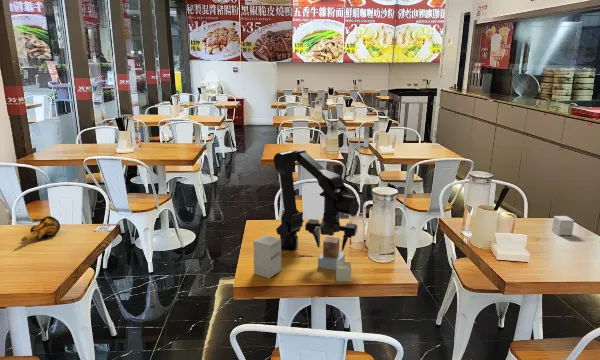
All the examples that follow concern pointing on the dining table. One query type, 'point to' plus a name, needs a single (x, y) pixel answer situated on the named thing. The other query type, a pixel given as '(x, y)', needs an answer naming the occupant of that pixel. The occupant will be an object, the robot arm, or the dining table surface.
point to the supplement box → (267, 256)
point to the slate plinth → (330, 261)
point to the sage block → (343, 271)
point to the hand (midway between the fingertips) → (330, 248)
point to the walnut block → (331, 247)
